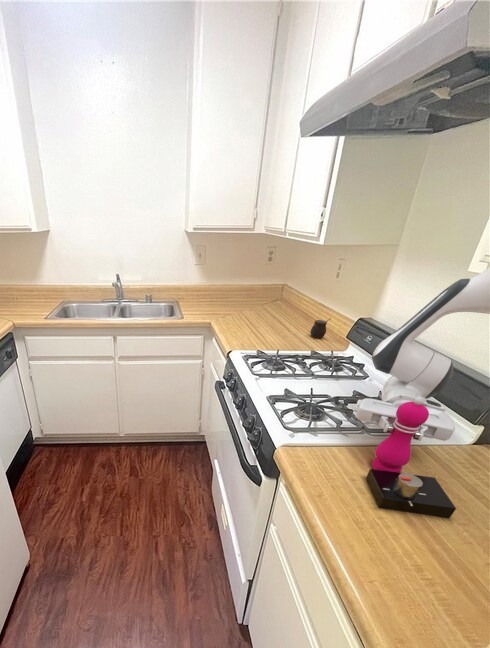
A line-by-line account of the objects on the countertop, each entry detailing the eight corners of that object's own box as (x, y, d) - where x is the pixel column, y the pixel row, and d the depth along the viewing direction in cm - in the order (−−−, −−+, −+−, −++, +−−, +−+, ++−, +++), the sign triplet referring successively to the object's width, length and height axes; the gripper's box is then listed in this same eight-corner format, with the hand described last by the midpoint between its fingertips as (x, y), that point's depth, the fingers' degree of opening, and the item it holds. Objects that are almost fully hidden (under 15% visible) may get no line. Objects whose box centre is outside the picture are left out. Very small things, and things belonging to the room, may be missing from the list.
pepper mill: (384, 457, 90) (417, 388, 79) (408, 474, 85) (447, 403, 73) (362, 462, 88) (393, 392, 77) (385, 480, 83) (422, 407, 71)
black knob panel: (428, 487, 81) (435, 476, 79) (452, 523, 72) (460, 512, 70) (365, 478, 83) (370, 468, 81) (380, 512, 74) (386, 501, 72)
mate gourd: (309, 334, 178) (314, 314, 172) (324, 336, 176) (330, 316, 170) (309, 338, 172) (314, 318, 167) (325, 340, 170) (331, 319, 165)
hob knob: (411, 486, 76) (418, 473, 74) (419, 500, 73) (427, 487, 71) (389, 483, 77) (396, 470, 75) (396, 497, 74) (404, 483, 71)
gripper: (361, 388, 92) (358, 410, 82) (453, 407, 84) (462, 434, 74) (353, 408, 96) (350, 432, 85) (441, 428, 88) (448, 457, 78)
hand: (403, 433), depth 80 cm, fingers closed on pepper mill, 4 cm apart
